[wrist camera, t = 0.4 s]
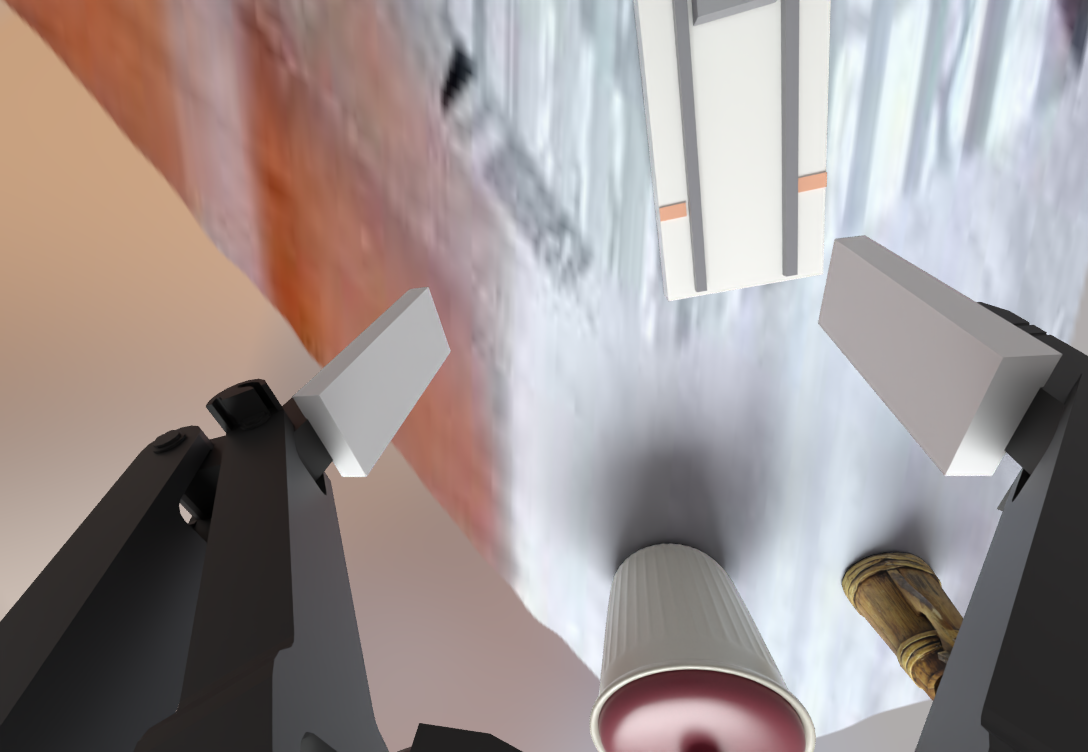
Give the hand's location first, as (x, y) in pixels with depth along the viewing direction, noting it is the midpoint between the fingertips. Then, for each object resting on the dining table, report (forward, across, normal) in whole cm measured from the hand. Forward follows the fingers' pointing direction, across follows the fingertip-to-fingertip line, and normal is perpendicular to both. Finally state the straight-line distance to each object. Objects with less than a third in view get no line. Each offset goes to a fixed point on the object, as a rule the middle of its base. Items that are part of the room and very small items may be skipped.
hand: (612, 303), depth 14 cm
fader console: (+26, +8, +3) cm, 28 cm away
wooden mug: (+18, +25, -42) cm, 53 cm away
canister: (+16, +2, -44) cm, 46 cm away
